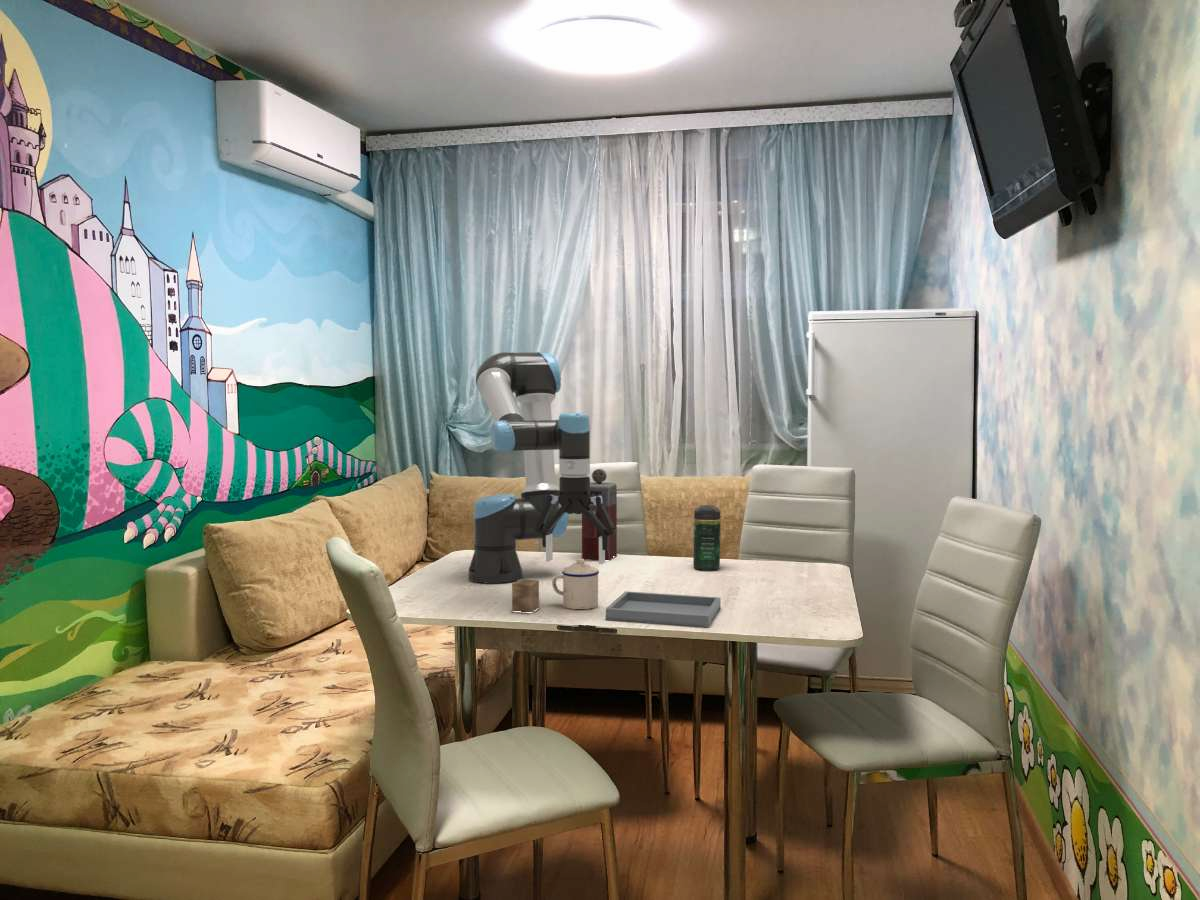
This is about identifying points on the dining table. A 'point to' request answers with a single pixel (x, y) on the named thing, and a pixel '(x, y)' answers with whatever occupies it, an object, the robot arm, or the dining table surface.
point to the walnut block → (525, 595)
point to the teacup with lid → (579, 585)
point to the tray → (664, 609)
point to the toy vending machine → (588, 530)
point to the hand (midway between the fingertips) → (575, 561)
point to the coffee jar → (706, 537)
